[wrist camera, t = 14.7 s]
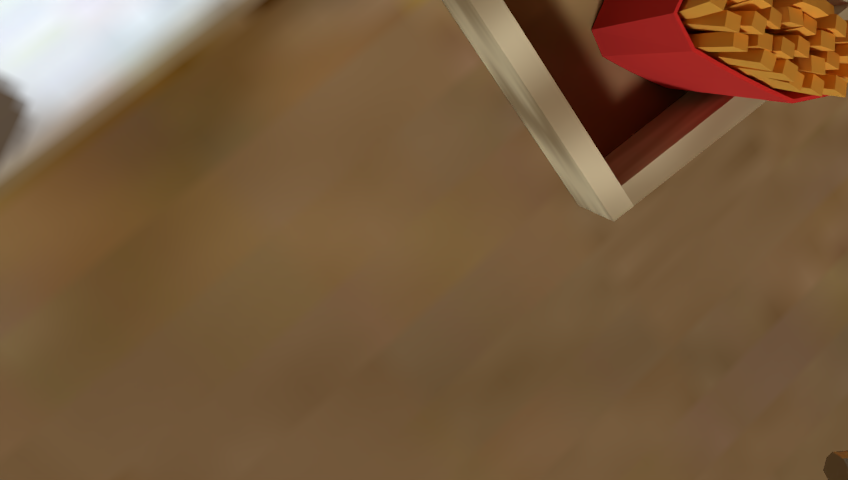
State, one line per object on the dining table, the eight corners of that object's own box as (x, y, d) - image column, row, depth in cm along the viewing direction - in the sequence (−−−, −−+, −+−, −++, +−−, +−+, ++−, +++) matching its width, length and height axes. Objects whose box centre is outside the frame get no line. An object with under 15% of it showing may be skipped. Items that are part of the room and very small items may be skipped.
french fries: (728, 34, 39) (928, 26, 28) (695, 106, 40) (878, 126, 28) (592, -39, 37) (751, -81, 25) (559, 39, 37) (699, 31, 26)
